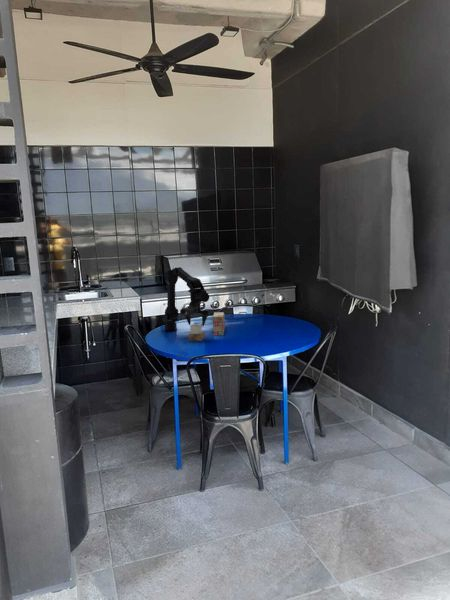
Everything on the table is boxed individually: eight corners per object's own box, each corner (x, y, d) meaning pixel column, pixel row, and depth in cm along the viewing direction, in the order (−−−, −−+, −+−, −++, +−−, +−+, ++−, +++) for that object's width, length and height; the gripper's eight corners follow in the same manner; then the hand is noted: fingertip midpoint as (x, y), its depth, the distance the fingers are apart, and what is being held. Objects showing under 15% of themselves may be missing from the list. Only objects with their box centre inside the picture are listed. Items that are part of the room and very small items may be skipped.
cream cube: (190, 333, 274) (190, 325, 273) (194, 331, 279) (194, 323, 278) (197, 334, 272) (197, 326, 271) (201, 332, 277) (201, 324, 276)
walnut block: (188, 341, 273) (188, 334, 272) (192, 337, 280) (192, 331, 280) (201, 341, 271) (201, 334, 270) (204, 337, 279) (204, 331, 278)
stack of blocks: (215, 327, 303) (215, 309, 301) (225, 327, 303) (224, 309, 301) (213, 335, 282) (212, 316, 280) (223, 335, 282) (222, 316, 280)
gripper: (175, 301, 268) (176, 327, 270) (203, 303, 260) (204, 329, 263) (184, 298, 278) (185, 323, 280) (211, 299, 270) (212, 325, 273)
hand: (196, 325), depth 274 cm, fingers open, 9 cm apart
